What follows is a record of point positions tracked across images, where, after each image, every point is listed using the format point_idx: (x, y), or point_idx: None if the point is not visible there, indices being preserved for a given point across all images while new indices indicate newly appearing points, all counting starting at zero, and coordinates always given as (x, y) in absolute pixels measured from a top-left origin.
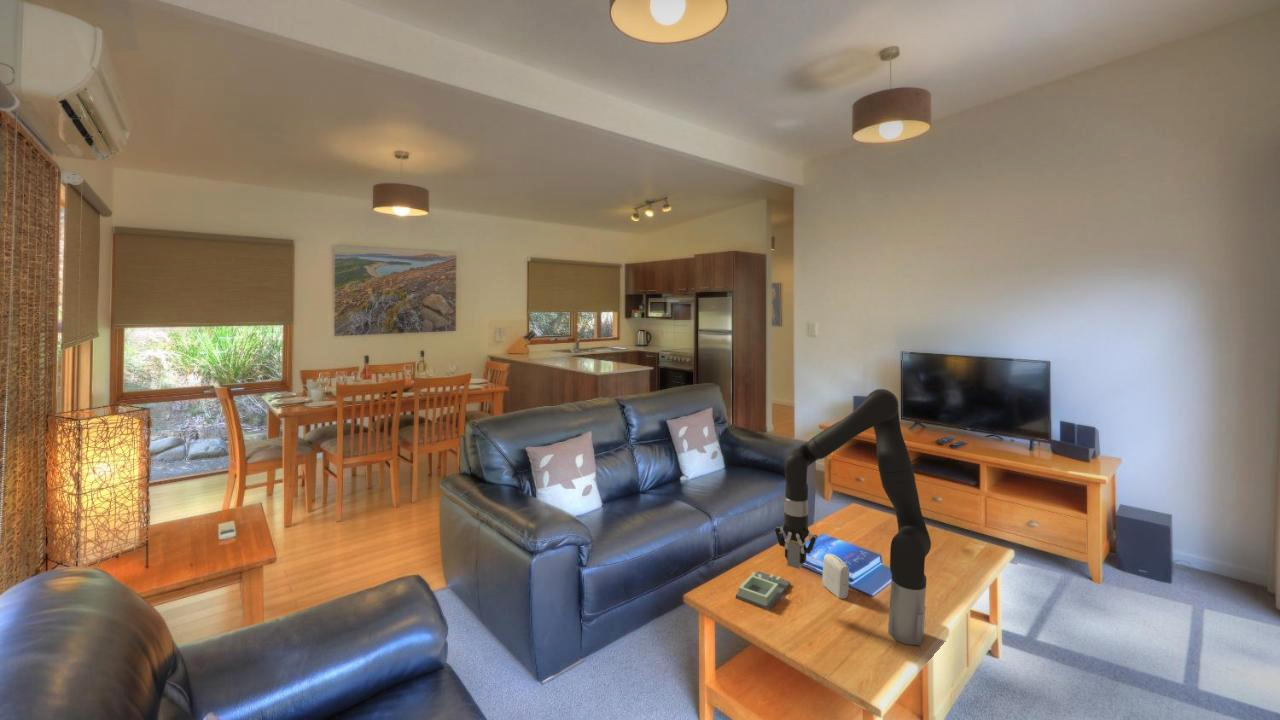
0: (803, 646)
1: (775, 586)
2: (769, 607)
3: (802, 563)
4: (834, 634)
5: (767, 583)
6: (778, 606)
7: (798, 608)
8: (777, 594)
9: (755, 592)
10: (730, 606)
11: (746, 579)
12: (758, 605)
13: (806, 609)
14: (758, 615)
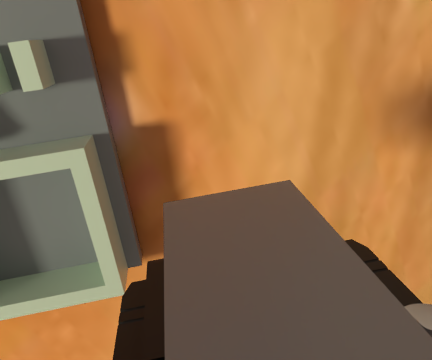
0: None
1: (90, 183)
2: (141, 263)
3: None
4: (396, 202)
5: (28, 173)
6: (152, 204)
7: (225, 153)
8: (104, 155)
9: (56, 300)
10: (12, 341)
11: None
12: None
13: (255, 134)
14: None
